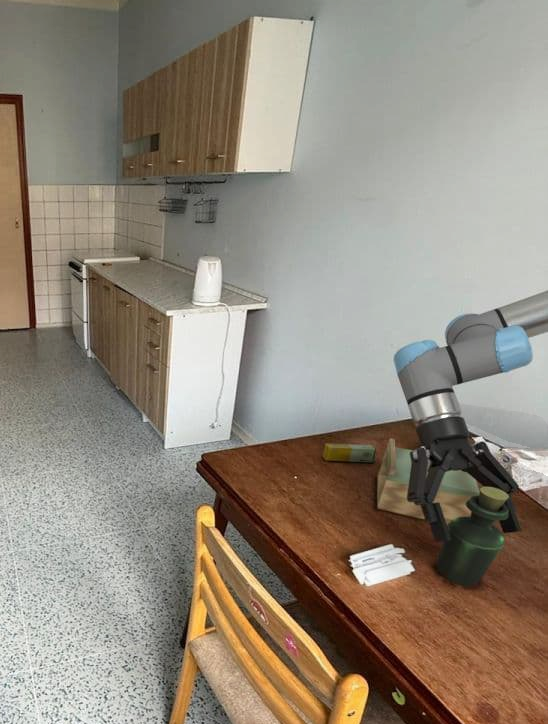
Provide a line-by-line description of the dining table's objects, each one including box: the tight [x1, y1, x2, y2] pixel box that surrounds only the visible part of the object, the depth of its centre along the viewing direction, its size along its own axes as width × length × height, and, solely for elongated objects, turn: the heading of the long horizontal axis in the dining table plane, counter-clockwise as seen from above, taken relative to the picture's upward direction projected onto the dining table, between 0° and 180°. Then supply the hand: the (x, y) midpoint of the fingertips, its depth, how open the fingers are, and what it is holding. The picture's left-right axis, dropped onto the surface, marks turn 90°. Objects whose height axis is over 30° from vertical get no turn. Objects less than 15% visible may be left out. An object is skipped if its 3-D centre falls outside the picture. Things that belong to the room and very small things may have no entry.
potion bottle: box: [436, 486, 509, 587], centre depth 82 cm, size 8×8×18 cm
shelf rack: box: [376, 437, 480, 526], centre depth 104 cm, size 16×14×11 cm
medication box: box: [322, 443, 377, 464], centre depth 122 cm, size 12×3×4 cm, turn 85°
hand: (478, 536), depth 82 cm, fingers open, 13 cm apart
